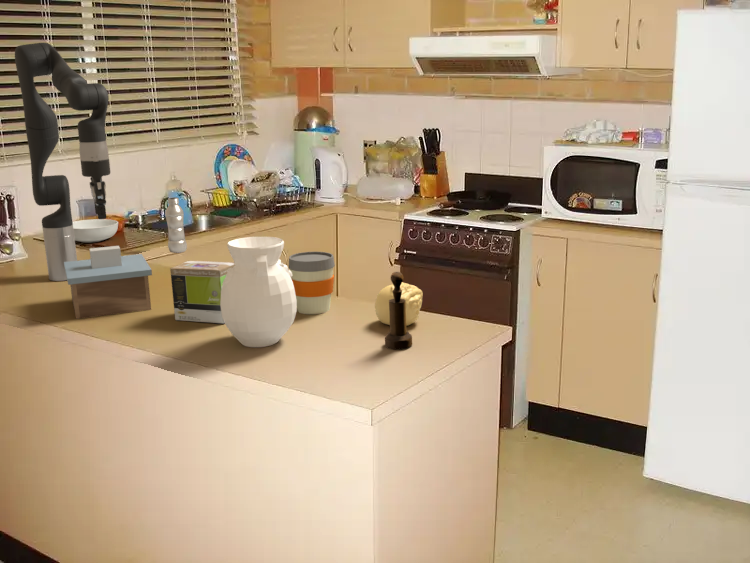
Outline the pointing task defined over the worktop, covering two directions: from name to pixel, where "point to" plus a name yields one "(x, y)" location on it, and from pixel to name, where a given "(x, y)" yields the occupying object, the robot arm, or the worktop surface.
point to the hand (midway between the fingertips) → (101, 216)
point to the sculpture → (408, 293)
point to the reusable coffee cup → (312, 281)
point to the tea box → (198, 290)
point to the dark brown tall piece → (397, 317)
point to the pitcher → (258, 292)
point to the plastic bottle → (175, 226)
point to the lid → (106, 266)
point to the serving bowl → (94, 230)
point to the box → (111, 297)
